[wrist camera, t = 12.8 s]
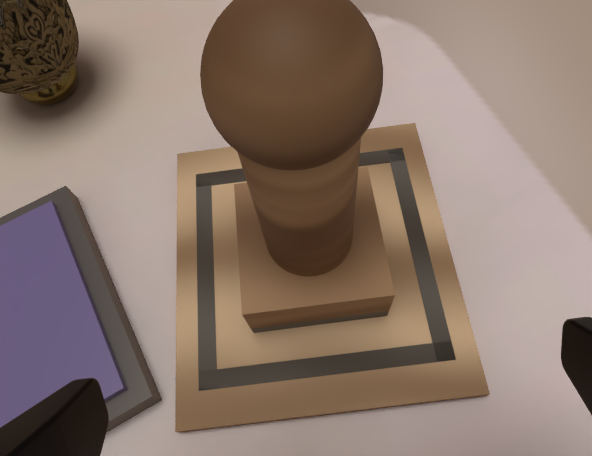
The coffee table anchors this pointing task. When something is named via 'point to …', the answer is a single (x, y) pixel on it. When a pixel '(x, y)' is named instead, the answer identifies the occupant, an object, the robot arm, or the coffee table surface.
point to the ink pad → (63, 314)
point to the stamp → (300, 158)
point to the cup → (38, 50)
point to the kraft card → (325, 337)
